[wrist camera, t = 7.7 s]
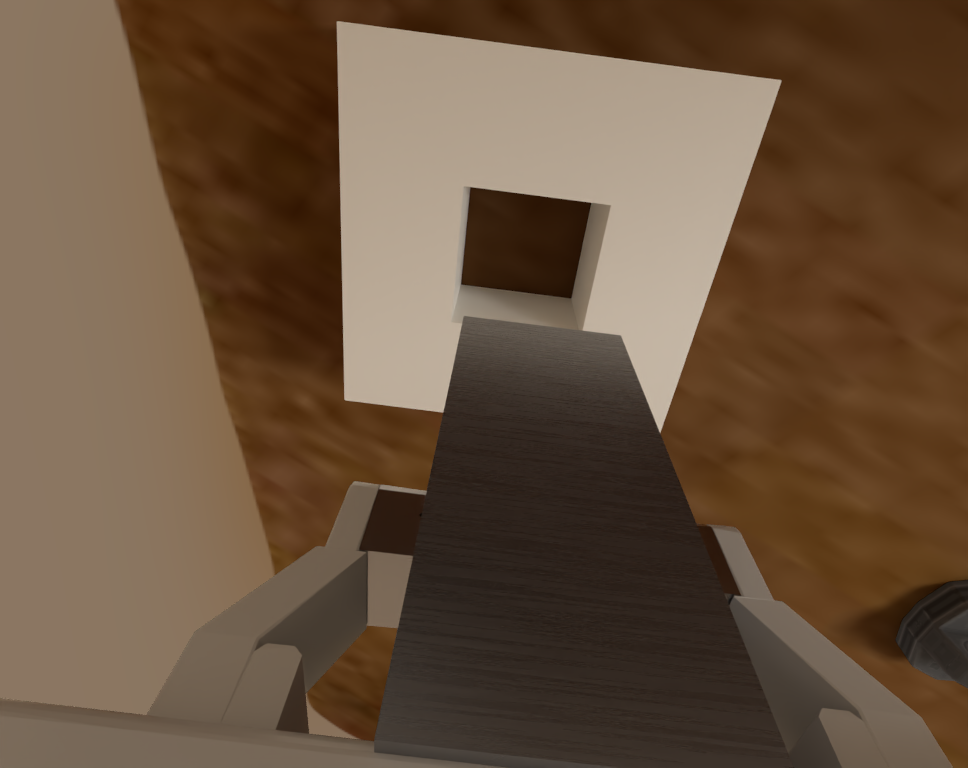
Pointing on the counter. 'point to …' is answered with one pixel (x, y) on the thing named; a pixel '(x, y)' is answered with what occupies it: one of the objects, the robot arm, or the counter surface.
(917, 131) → the counter surface
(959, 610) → the zipper pull
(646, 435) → the metal bar
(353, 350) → the well block
